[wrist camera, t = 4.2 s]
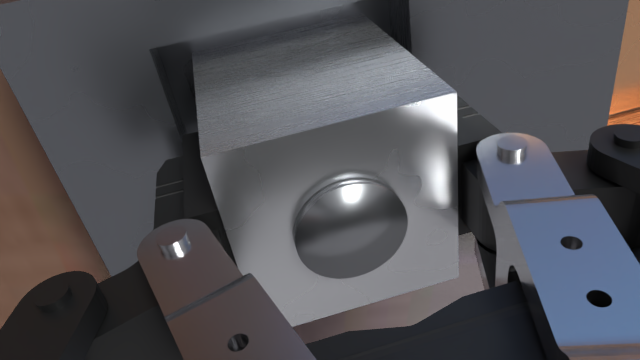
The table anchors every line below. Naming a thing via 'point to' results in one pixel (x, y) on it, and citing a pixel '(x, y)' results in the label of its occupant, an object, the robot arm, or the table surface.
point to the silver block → (330, 164)
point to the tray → (273, 17)
